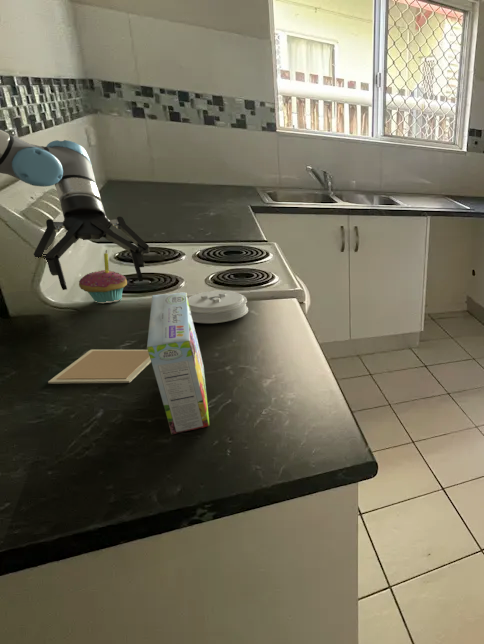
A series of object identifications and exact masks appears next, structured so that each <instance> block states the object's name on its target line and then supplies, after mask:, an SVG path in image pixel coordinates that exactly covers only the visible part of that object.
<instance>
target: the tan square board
mask: <svg viewBox="0 0 484 644" xmlns="http://www.w3.org/2000/svg"><path fill="white" fill-rule="evenodd" d="M150 364H152V363H151V359H150V356H149V353H148V350H147V349H90V350H88V351H87V352H86V353H84V354H83V355H81V356H80V357H78V359H76V360H74V362H72V363H71V364H69V365H68V366H66V367H65V368H64V369H63V370H62V371H60V372H59V373H57V374H56V375H55V376H54V377H52V378H51V379H50V380H48V381H47V384H48V385H49V384H50V385H51V384H57V385H58V384H130V383H131V382H132V381H133V380H134V379H135V378H137V377H138V376H139V375H140V373H141V372H143V371H144V370H145V369H146V368H147V367H148V366H149V365H150Z"/></svg>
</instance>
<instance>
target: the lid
mask: <svg viewBox="0 0 484 644" xmlns="http://www.w3.org/2000/svg"><path fill="white" fill-rule="evenodd" d="M187 298H188V303H189V307H190V311H191V316H192V320H193V323H197V324H218V323H225V322H231V321H234V320H237V319H240V318H242V317H244V316H245V315H247V314H248V312H249V307H248V306H247V302H248V299H247V297H246V296H245V295H243V294H241V293H239V292H237V291H234V290H220V289H219V290H207V291H202V292H198V293H195V294H192V295H190V296H189V297H187Z"/></svg>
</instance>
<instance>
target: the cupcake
mask: <svg viewBox="0 0 484 644" xmlns="http://www.w3.org/2000/svg"><path fill="white" fill-rule="evenodd" d="M103 259H104V269H101V270H98V271H94V272H89V273H86V274H85V275H84V276H82V277H81V278H80V279H79V281H78V287H79V288H80V289H81V290H83V291H84V292H87V293H88V294H89V295H90V297H91V298H92V299H93V301H94V302H95V301H97V302H106V301H114V300H119V299H121V298H123V291H124V288H125V287H126V286H128V280H127V277H126V275H125V276H124V275H123V274H121V273H119V272H116V271H112V270H109V269H110V267H109V254H108V250H107V249H106V250H105V252H104V253H103ZM121 300H122V299H121Z"/></svg>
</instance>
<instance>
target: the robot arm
mask: <svg viewBox="0 0 484 644" xmlns="http://www.w3.org/2000/svg"><path fill="white" fill-rule="evenodd" d="M0 174H4V175H8V176H11V177H13V178H16V179H17V180H20V181H21V182H23V183H25V184H28V185H30V186H35V187H42V188H43V187H45V188H46V187H52V186H55V191H56V194H57V197H58V201H59V203H60V208H61V212H62V216H63V221H54V220H53V219H51V218H49V219H48V218H47V219H46V221H45V225H46V228H45V230H44V232H43V234H42V236H41V238H40V240H39V242H38V245H36V248H35V250H34V252H33V257H34V258H35V257H38V258H39V257H41V256H42V254H43V252H44V250H47V249H48V247H49V246H50V245H51V244H52V245H53V243H54V240H55V238H56V237H57V233H59V232H61V229H64V230H66V232H65V234H64V235H63V236H62V238H61V239H60V240H59V241H58V242H57V243H56V244H55V245H54V246H53V247H52V248H50V249H49V251H48V253H47V254H43V255H46V256H43V257H45V258H46V260H47V262H48V263H47V262H46V263H47V266H48V270H49V273H50V275H51V276H52V277H54V276H57V278H58V280H59V285H60V287H61V290H62V291H67V290H68V287H67V283H66V279H65V275H64V271H63V268H62V264H61V262H60V258H61V257H63V255H64V254H65V253H66V252H67V251H68V250H69V249H70V248H71V246H72V245H73V244H75V243H77V241H79V240H80V239H81V240H83V241H88V240H100V239H101V238H104V239H105V240H107V241H109V242H112V243H114V244H116V245H117V246H119V247H120V248H122V249H123V250H125V251H127V252H129V253H130V255H131V260H132V262H133V266H134V269H135V273H136V276H137V280H138V282H144V280H143V279H144V278H143V274H142V271H141V268H144V267H145V261H144V258H143V255H144V254H150V245H149V244H148V243H147V242H145V241H144V240H143V239H142V237H140V236H139V235H138V234H137V233H136V232H135V231H134V230H133V229H132V228H131V227H130V226H129V225H127V223H126V221H125V219H124V217H123V216H117V217H116V218H114V219H109V218H108V217H107V215H106V212H105V208H104V205H103V201H102V198H101V194H100V191H99V187H98V184H97V181H96V177H95V173H94V170H93V163H92V162H91V159H90V156H89V154H88V152H87V150H86V149H85V148H84V146H82V145H81V144H79V143H77V142H75V141H72V140H68V139H67V140H66V139H64V140H57V139H56V140H52V141H49V142H48V143H47V145H46V146H43V145H37V144H33V143H29V142H27V141H24V140H23V139H20V138H19V137H17V136H14V135H11V134H10V133H8V132H6V131H4V130H2V129H0ZM111 227H115V228H116V229H117V230H120V231H121V233H122V234H123V235H124V236H126V237H127V238H128V239H129V240H130V241H129V240H127V239H126V238H124V237H122V236H121V235H119V234H117V233H116V232H114V231H113V230H112V229H111ZM52 245H51V246H52ZM45 258H44V259H45Z"/></svg>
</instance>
